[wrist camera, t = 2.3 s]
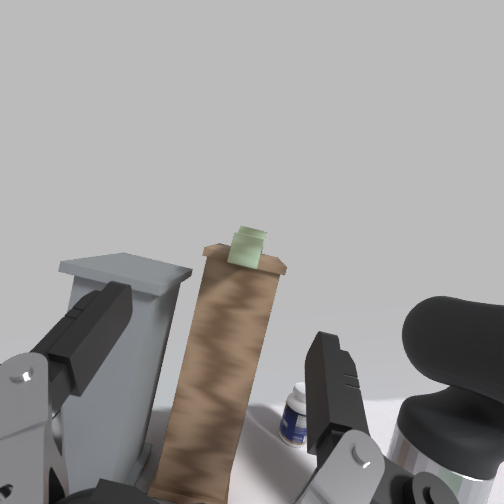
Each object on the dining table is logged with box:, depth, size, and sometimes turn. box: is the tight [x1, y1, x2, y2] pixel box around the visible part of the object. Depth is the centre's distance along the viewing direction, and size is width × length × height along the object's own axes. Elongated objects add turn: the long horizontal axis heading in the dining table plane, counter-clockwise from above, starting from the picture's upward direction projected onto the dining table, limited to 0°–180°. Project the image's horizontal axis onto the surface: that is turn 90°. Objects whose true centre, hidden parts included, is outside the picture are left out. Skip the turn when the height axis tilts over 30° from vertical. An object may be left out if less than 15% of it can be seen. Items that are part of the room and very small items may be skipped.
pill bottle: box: [279, 382, 307, 448], centre depth 52 cm, size 5×5×10 cm
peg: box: [227, 226, 267, 269], centre depth 35 cm, size 4×22×4 cm, turn 179°
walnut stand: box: [147, 244, 287, 504], centre depth 41 cm, size 10×14×32 cm
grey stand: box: [59, 253, 192, 495], centre depth 34 cm, size 10×13×28 cm
